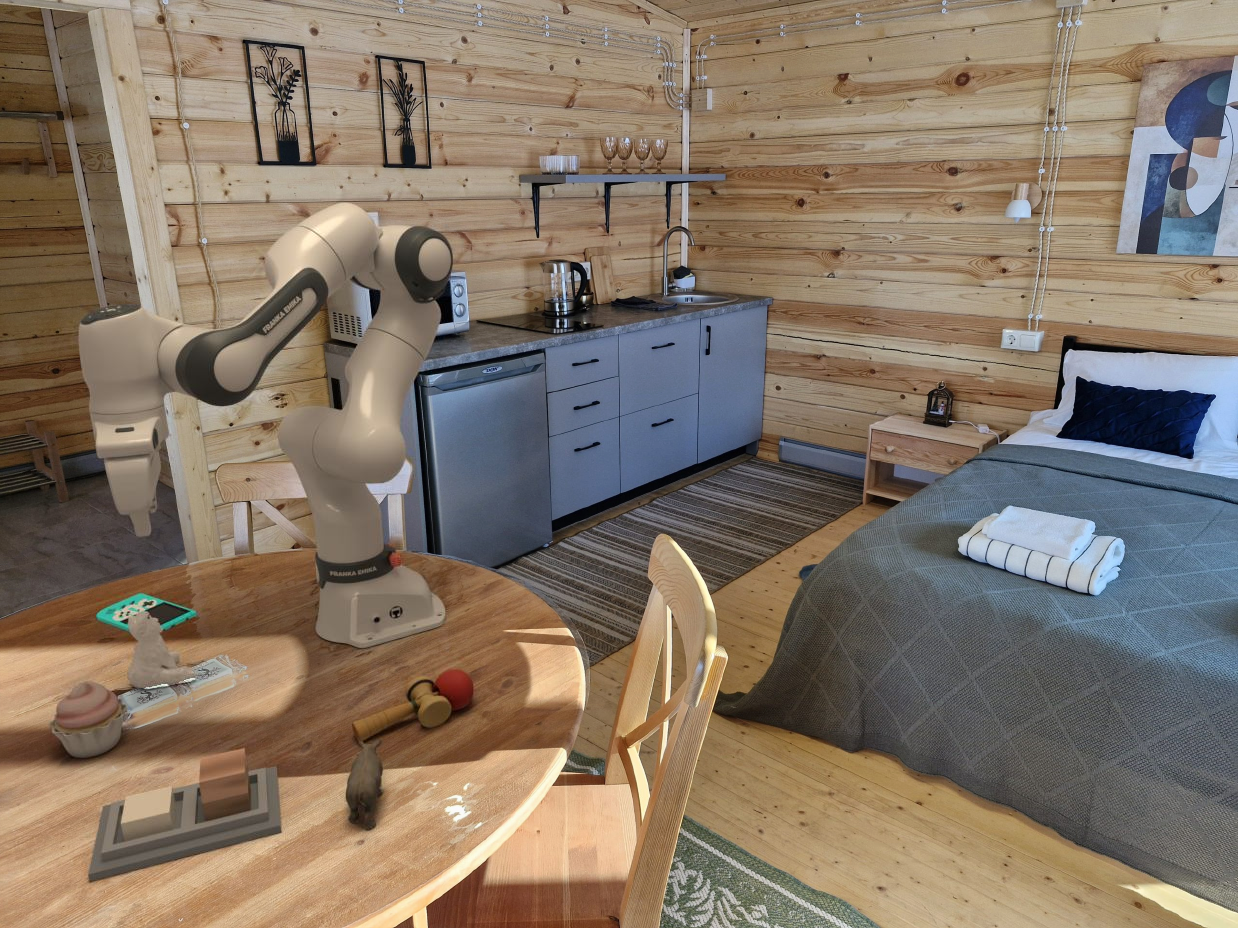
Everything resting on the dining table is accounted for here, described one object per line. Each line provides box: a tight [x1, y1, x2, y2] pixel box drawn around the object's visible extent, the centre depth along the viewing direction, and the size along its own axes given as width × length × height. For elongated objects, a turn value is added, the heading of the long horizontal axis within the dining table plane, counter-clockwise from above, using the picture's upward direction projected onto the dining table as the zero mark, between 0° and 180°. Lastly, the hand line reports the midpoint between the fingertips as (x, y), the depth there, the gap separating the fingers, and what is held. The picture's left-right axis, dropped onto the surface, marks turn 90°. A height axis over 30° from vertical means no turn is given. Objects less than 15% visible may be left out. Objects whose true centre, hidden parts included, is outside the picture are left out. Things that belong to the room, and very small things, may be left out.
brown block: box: [198, 747, 251, 822], centre depth 104 cm, size 5×5×6 cm
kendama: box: [351, 668, 475, 742], centre depth 124 cm, size 8×6×18 cm
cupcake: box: [47, 680, 129, 759], centre depth 116 cm, size 9×9×10 cm
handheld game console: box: [96, 592, 198, 634], centre depth 154 cm, size 10×16×1 cm, turn 63°
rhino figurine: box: [345, 737, 384, 831], centre depth 108 cm, size 4×14×6 cm, turn 10°
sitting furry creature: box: [126, 611, 196, 689], centre depth 132 cm, size 10×9×12 cm
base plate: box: [88, 765, 283, 882], centre depth 103 cm, size 20×12×4 cm, turn 113°
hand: (147, 522), depth 119 cm, fingers open, 8 cm apart
